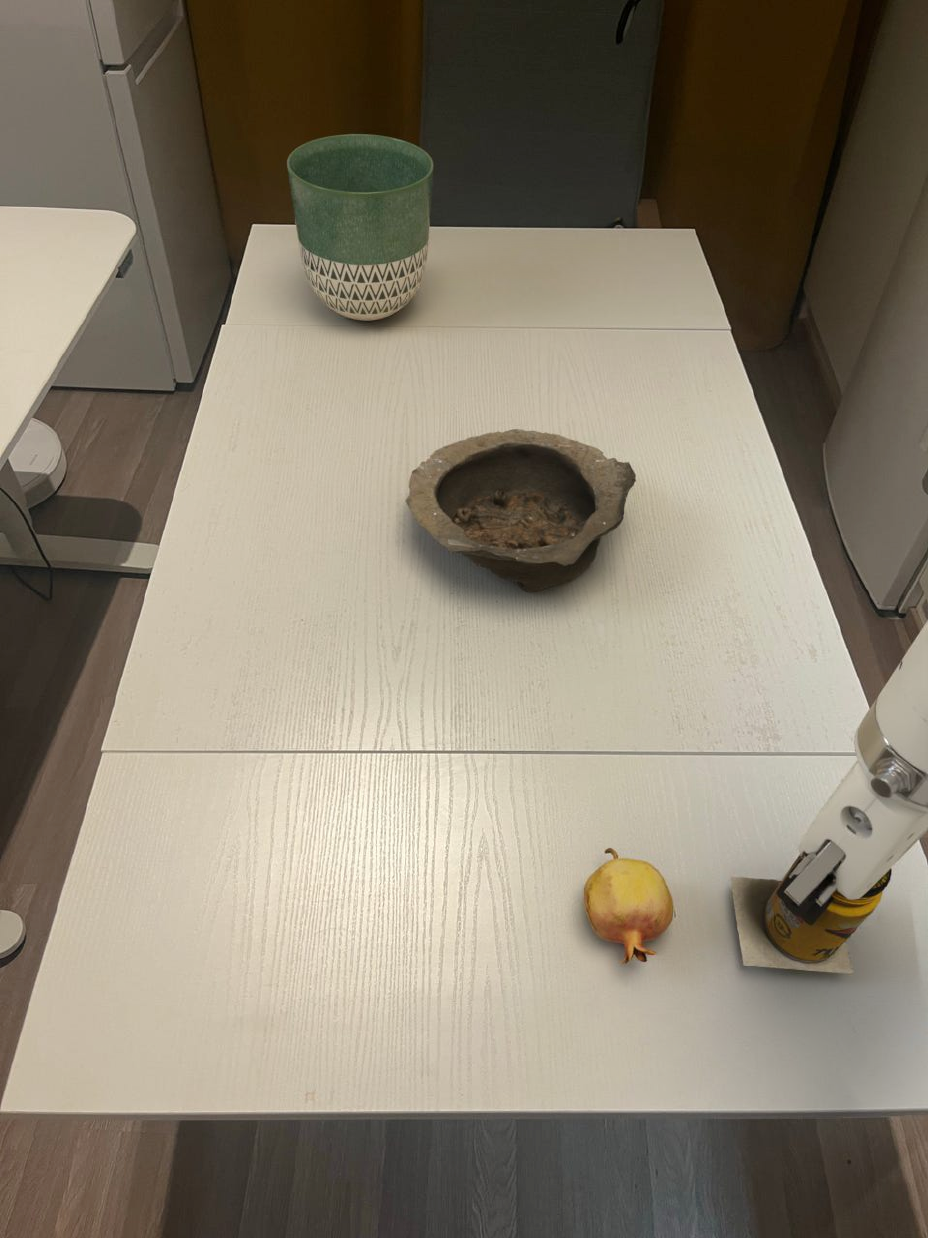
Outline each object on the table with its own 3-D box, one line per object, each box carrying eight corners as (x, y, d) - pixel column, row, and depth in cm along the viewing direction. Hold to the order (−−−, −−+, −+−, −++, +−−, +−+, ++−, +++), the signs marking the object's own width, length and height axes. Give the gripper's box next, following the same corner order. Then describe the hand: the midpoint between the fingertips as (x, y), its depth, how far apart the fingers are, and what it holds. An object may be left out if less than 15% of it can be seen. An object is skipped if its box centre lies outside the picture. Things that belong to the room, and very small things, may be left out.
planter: (294, 283, 140) (279, 136, 124) (416, 273, 143) (416, 130, 127) (310, 350, 127) (296, 197, 111) (443, 338, 131) (448, 188, 115)
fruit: (571, 829, 72) (589, 951, 65) (657, 816, 71) (684, 939, 64) (581, 868, 77) (598, 985, 70) (661, 856, 76) (687, 974, 69)
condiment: (852, 974, 69) (917, 907, 60) (742, 966, 69) (791, 898, 60) (831, 885, 74) (889, 811, 65) (729, 878, 74) (772, 803, 65)
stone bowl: (613, 632, 93) (622, 570, 86) (384, 599, 98) (375, 537, 91) (636, 483, 109) (644, 420, 102) (438, 460, 114) (433, 398, 107)
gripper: (901, 876, 47) (792, 995, 61) (1058, 715, 55) (930, 852, 68) (787, 779, 51) (708, 911, 64) (948, 640, 59) (848, 784, 72)
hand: (823, 879), depth 66 cm, fingers closed on condiment, 6 cm apart
